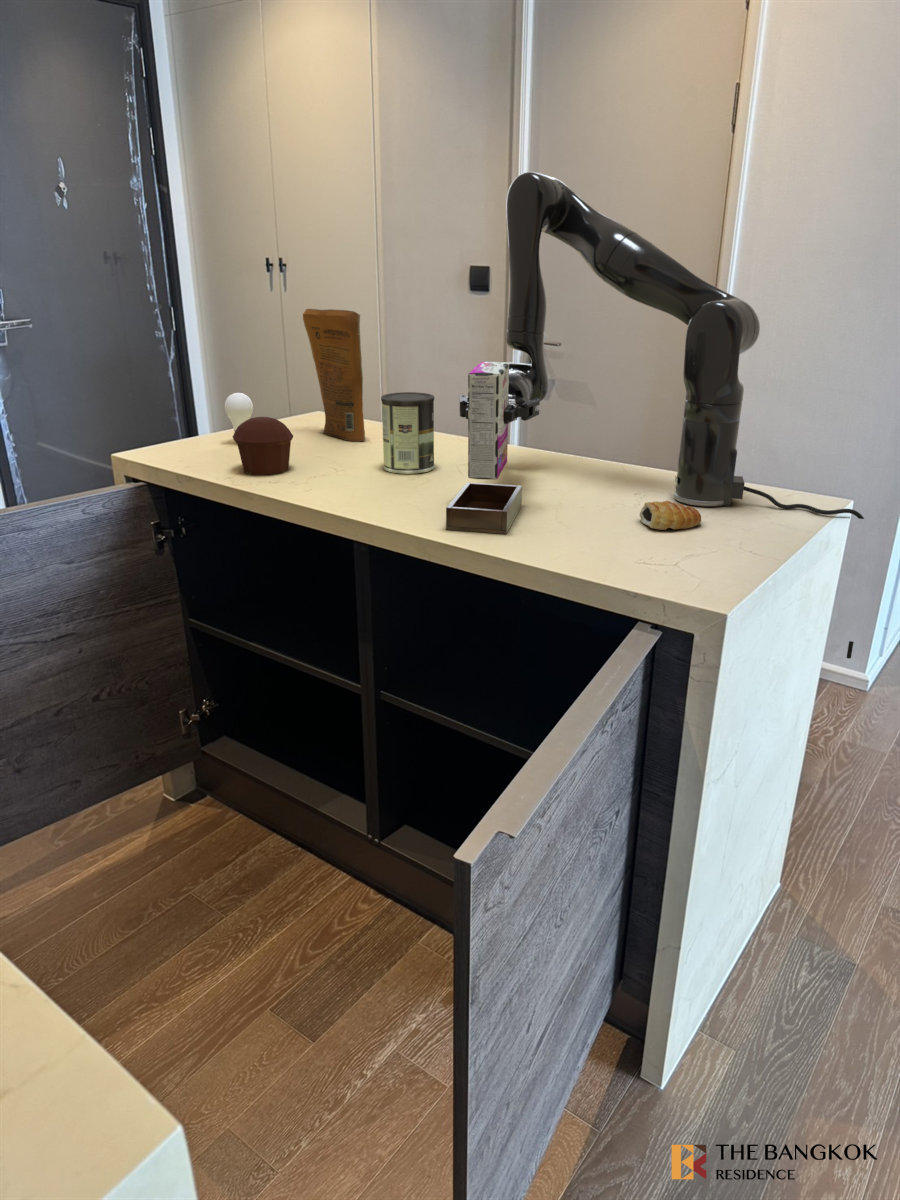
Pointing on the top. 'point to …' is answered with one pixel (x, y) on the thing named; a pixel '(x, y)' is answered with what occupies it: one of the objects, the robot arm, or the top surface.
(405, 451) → the coffee can
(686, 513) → the pastry
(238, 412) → the lightbulb
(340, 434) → the pancake mix bag
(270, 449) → the muffin
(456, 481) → the top surface
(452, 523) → the open box
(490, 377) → the candy bar box
